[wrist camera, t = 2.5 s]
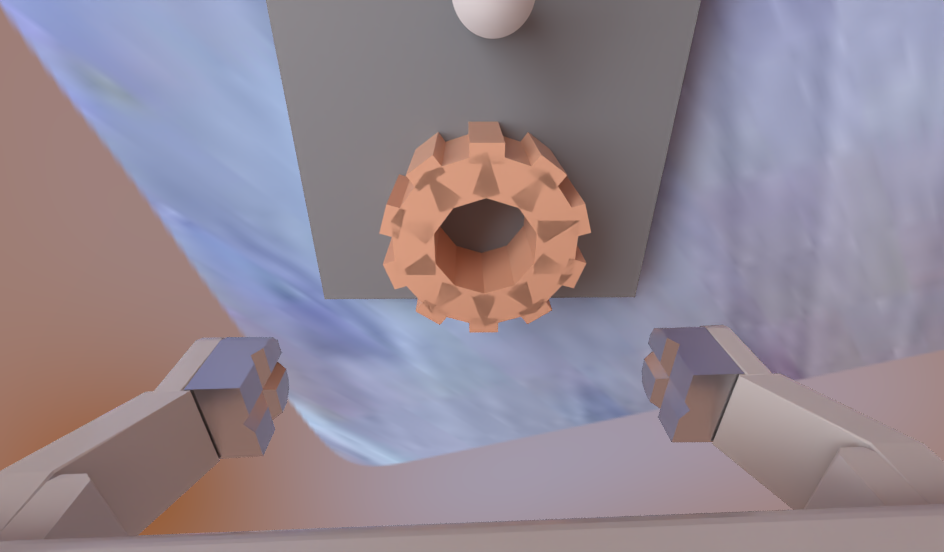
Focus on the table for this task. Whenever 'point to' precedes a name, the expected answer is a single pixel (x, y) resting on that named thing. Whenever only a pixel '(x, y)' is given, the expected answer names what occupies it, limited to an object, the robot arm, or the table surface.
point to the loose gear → (496, 271)
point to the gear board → (480, 116)
